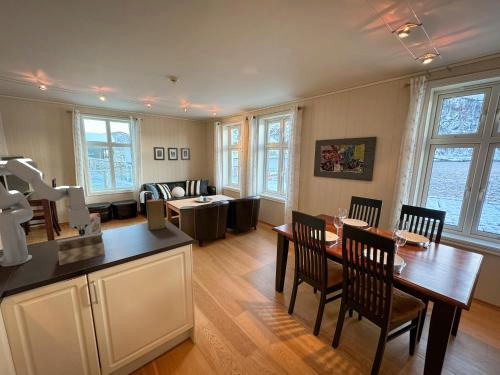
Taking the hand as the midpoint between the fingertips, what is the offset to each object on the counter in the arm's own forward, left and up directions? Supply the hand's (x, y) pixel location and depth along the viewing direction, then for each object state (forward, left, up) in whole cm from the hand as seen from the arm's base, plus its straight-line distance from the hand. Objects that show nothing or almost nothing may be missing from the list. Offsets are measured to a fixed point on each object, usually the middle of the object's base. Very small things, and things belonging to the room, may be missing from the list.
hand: (82, 235), depth 133 cm
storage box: (-1, +4, -15) cm, 15 cm away
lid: (-1, +4, -4) cm, 6 cm away
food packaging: (+51, +31, -15) cm, 62 cm away
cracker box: (+5, +23, -15) cm, 27 cm away
